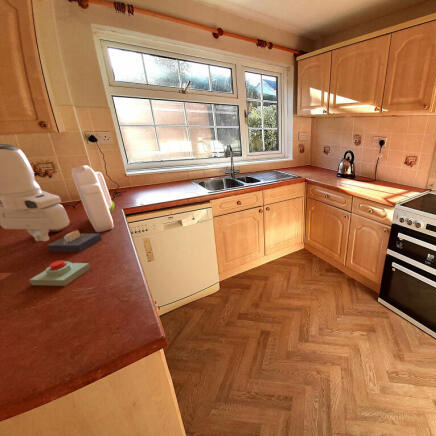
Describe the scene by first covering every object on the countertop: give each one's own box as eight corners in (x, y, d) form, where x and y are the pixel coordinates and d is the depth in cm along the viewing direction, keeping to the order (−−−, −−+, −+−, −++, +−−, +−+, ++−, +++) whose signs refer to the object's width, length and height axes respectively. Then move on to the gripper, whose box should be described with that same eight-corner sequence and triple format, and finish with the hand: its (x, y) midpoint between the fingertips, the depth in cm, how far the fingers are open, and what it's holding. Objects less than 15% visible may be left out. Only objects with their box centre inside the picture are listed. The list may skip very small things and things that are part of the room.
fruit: (94, 218, 135) (88, 201, 131) (101, 213, 143) (95, 196, 140) (113, 216, 138) (107, 199, 134) (118, 210, 146) (113, 194, 142)
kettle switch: (48, 270, 81) (46, 266, 81) (59, 264, 85) (57, 260, 84) (58, 270, 81) (56, 266, 80) (68, 264, 84) (66, 260, 84)
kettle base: (32, 285, 80) (26, 275, 78) (60, 267, 89) (56, 258, 88) (65, 285, 79) (60, 275, 77) (91, 268, 88) (87, 258, 87)
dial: (70, 241, 102) (67, 234, 101) (67, 241, 102) (64, 234, 101) (80, 236, 107) (78, 229, 106) (78, 236, 107) (75, 229, 106)
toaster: (124, 228, 121) (104, 168, 109) (96, 236, 114) (72, 172, 102) (113, 215, 139) (94, 162, 128) (88, 221, 132) (67, 165, 120)
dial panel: (49, 251, 101) (46, 244, 100) (73, 239, 111) (70, 233, 110) (80, 251, 100) (77, 245, 99) (101, 239, 110) (99, 233, 109)
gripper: (-20, 203, 71) (2, 244, 76) (44, 203, 70) (62, 245, 75) (5, 196, 77) (24, 235, 82) (64, 196, 75) (80, 236, 81)
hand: (43, 240), depth 79 cm, fingers closed
